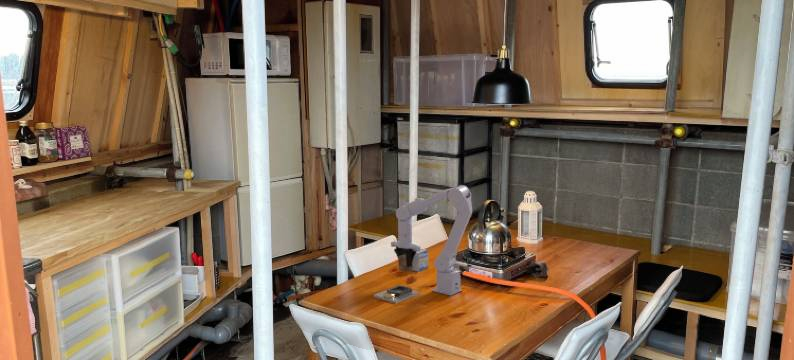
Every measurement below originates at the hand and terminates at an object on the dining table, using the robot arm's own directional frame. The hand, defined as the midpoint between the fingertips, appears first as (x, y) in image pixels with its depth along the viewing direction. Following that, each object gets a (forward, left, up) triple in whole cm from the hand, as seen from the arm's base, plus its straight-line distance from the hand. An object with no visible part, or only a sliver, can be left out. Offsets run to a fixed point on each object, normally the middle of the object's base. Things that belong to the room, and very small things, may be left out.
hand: (405, 265), depth 257 cm
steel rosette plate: (-5, +12, -9) cm, 16 cm away
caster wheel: (-36, -48, -9) cm, 60 cm away
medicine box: (+11, -23, -9) cm, 27 cm away
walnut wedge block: (0, 0, -2) cm, 2 cm away
